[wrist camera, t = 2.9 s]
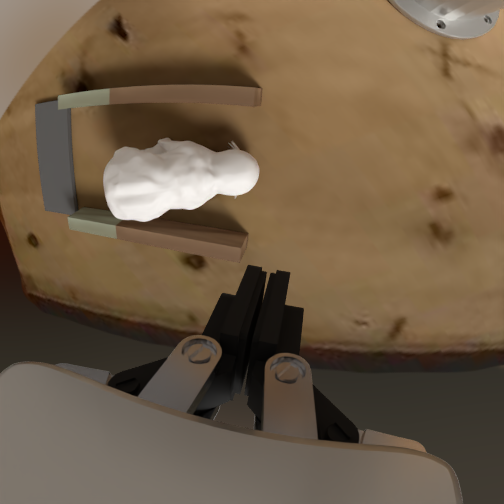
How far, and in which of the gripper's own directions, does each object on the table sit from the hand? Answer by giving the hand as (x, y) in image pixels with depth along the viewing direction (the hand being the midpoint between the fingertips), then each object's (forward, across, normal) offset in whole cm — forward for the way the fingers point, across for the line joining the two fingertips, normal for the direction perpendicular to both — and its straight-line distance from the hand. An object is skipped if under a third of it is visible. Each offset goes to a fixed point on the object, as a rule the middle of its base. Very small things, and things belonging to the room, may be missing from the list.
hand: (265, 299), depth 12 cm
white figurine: (+17, +9, -1) cm, 19 cm away
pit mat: (+16, +28, -1) cm, 32 cm away
